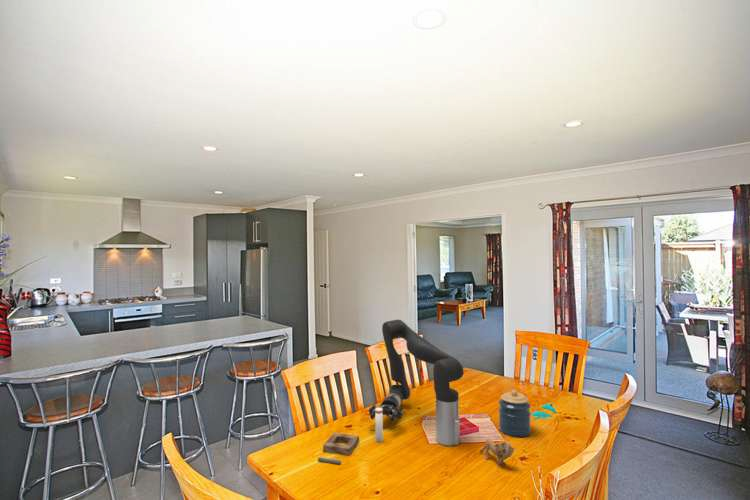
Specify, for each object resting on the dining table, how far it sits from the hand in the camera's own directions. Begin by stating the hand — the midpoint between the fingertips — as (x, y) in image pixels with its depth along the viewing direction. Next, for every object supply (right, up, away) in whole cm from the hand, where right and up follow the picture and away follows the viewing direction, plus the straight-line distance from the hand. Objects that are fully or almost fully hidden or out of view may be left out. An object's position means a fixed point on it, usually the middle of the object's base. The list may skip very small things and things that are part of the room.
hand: (381, 418), depth 161 cm
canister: (+58, -8, +5) cm, 58 cm away
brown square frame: (-16, -8, -9) cm, 20 cm away
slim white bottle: (-1, -8, -4) cm, 9 cm away
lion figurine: (+42, -7, -20) cm, 47 cm away
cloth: (+81, -8, +24) cm, 85 cm away
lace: (-20, -7, -20) cm, 29 cm away
